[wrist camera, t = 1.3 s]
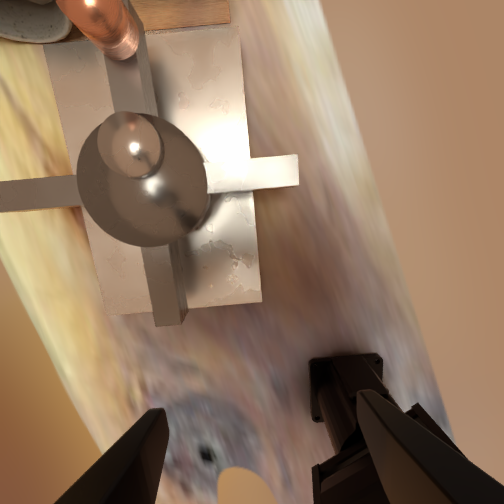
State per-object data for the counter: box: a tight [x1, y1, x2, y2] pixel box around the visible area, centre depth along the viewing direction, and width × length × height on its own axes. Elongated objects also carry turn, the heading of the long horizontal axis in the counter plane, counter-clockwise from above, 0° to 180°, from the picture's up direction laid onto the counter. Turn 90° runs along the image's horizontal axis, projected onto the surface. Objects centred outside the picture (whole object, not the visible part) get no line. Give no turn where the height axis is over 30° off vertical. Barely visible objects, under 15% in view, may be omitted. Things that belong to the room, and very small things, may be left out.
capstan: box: [0, 0, 299, 327], centre depth 13 cm, size 17×17×4 cm
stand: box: [43, 0, 262, 316], centre depth 15 cm, size 24×12×5 cm, turn 5°
